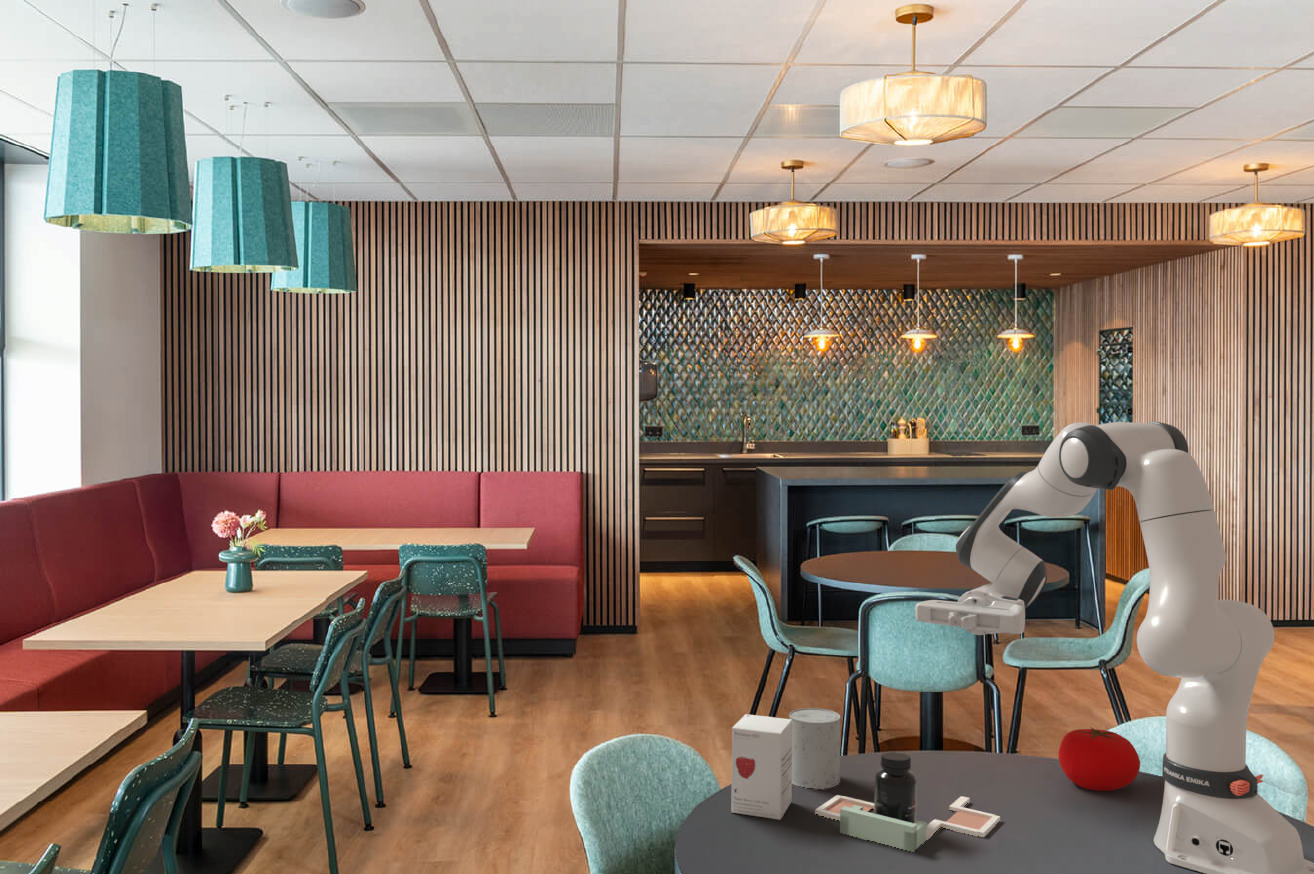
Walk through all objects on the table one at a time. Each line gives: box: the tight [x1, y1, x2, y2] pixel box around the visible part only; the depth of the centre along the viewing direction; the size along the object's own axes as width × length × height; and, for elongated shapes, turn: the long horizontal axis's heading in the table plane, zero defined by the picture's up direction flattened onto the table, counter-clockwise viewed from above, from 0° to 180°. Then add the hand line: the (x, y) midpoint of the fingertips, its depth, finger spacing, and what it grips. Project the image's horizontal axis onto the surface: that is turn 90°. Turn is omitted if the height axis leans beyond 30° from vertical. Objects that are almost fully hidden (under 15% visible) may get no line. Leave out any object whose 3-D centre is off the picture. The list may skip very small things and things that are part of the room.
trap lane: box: [814, 794, 1001, 853], centre depth 171 cm, size 26×26×4 cm
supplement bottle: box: [873, 751, 918, 823], centre depth 167 cm, size 7×7×12 cm
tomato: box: [1058, 727, 1141, 792], centre depth 186 cm, size 14×13×10 cm
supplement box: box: [730, 713, 793, 821], centre depth 175 cm, size 9×9×15 cm
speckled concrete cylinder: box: [788, 707, 842, 790], centre depth 189 cm, size 10×10×12 cm
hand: (955, 622), depth 188 cm, fingers closed
